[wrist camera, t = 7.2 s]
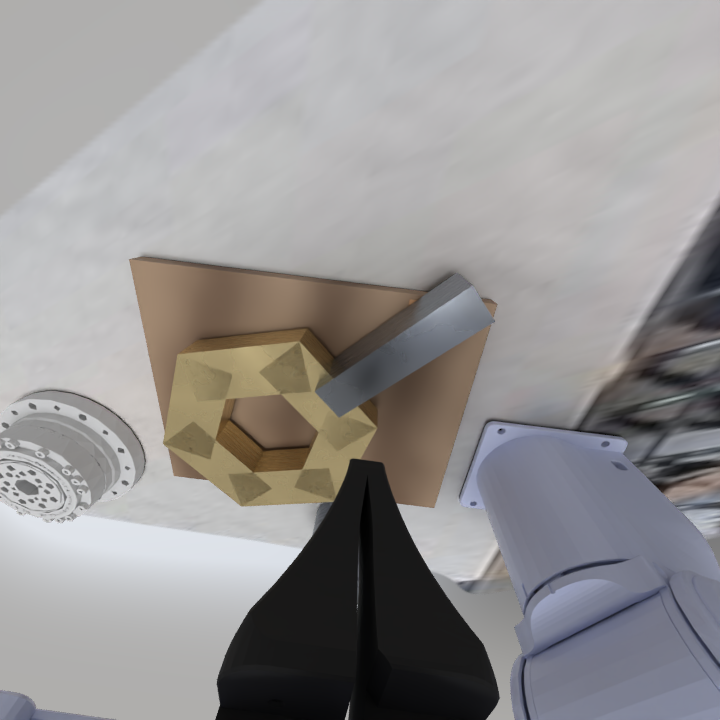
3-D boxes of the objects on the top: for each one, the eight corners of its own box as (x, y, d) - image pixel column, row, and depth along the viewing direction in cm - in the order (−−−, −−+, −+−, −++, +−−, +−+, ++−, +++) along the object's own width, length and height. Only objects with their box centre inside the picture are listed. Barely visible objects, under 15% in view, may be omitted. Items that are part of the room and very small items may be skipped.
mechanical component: (109, 381, 22) (-12, 395, 23) (49, 419, 18) (-93, 434, 19) (167, 484, 26) (63, 492, 27) (130, 533, 22) (9, 540, 23)
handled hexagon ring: (282, 509, 24) (270, 546, 22) (140, 389, 20) (103, 417, 17) (524, 379, 18) (549, 408, 16) (392, 169, 14) (395, 160, 11)
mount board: (491, 299, 18) (497, 304, 17) (431, 497, 25) (434, 509, 24) (141, 256, 18) (127, 259, 17) (181, 466, 25) (173, 476, 24)
